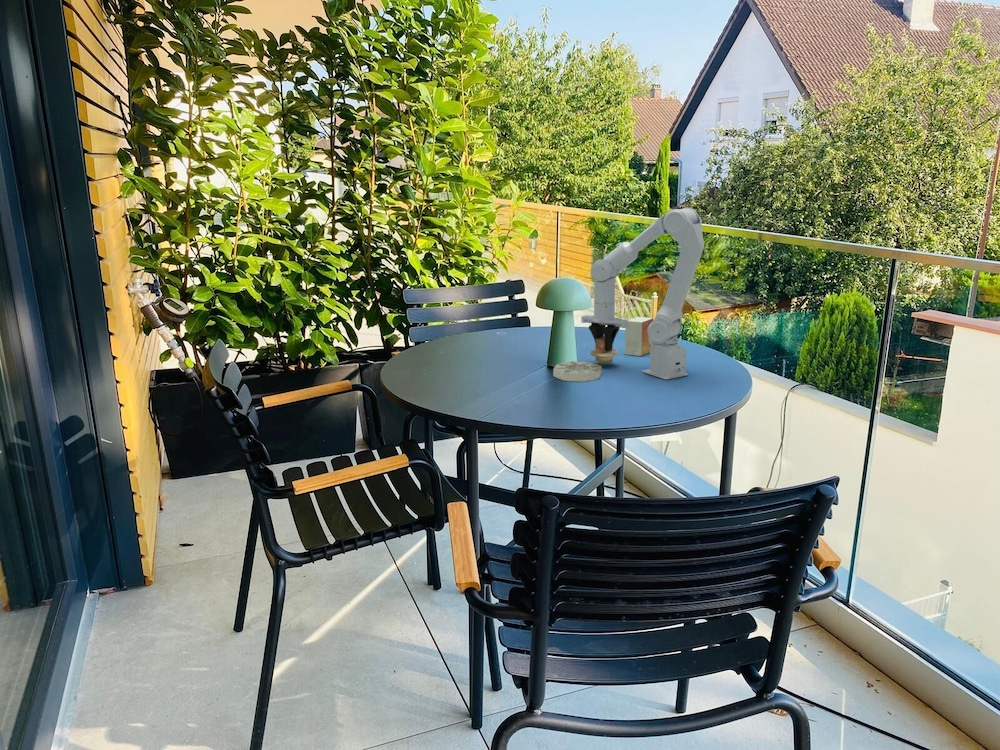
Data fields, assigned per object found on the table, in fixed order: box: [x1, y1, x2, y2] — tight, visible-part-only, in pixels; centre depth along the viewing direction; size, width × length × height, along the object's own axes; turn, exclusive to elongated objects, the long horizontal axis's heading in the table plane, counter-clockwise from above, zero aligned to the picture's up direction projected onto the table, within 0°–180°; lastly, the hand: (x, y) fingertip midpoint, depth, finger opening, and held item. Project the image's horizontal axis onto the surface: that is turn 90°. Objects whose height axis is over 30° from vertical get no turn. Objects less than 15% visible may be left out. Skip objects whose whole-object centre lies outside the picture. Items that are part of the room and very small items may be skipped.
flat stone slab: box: [552, 360, 603, 383], centre depth 192 cm, size 12×12×2 cm
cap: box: [589, 336, 619, 364], centre depth 200 cm, size 8×8×7 cm
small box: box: [624, 316, 654, 357], centre depth 214 cm, size 8×6×10 cm
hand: (604, 349), depth 200 cm, fingers closed on cap, 2 cm apart
